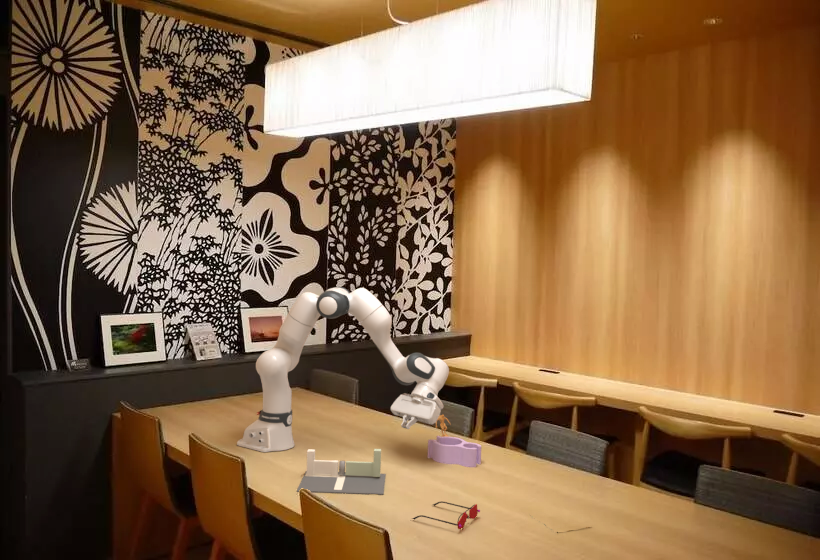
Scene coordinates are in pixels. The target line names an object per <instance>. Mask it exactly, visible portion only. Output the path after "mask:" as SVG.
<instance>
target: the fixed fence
mask: <svg viewBox="0 0 820 560" xmlns="http://www.w3.org/2000/svg"><path fill="white" fill-rule="evenodd" d="M339 461H340V460H337V459H336V460H335V459H334V460H333V459H332V460H327V459H326V460H325V459H324V460H323V459H321V460H320V459H316V449H311V448H310V449H309V448H308V449H307V451H306V471H307V476H314V474H328V475H332V477H338V472H339Z"/></svg>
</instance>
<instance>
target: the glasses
mask: <svg viewBox="0 0 820 560" xmlns="http://www.w3.org/2000/svg"><path fill="white" fill-rule="evenodd" d="M438 504H447V505H450V506H455V507H460V508H463V509H465V511H463V512H462V513H461V514H460V515H459V516H458V519H457V523H454V522H450V521H447V520H443V519H439V518H435V517H430V516H427V515H417V516H414V517H413V518H411V519H414V520H416V519H418V518H420V517H421V518H427V519H430V520H434V521H438V522H442V523H445V524H449V525H453V526H457V529H458V530H459V529H461V528H463V527H465V526H466V525H465V524H466V522H467V520H470V519H472V520H474V518H475V517H476V516H478V513H480V512H481V510H480V509H478V504H477V503H476V504H473V505H472V506H471V507H469V506H463V505H460V504H455V503H451V502H447V501H437V502H435V503H433V504H432V505H434V506H433V507H435V506H436V505H438ZM466 509H467V510H466ZM467 512H468V514H467ZM476 518H477V517H476ZM463 529H464V528H463Z"/></svg>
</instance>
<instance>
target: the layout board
mask: <svg viewBox="0 0 820 560" xmlns="http://www.w3.org/2000/svg"><path fill="white" fill-rule="evenodd" d="M345 474H346V471H345ZM386 475H387V473H380V477H373V476H355V475H339V471H338V477H332V475H328V474H314V476H307V470H306V471H305V472H304V474H303V476H302V479H301V480H300V483H299V485H298V487H297V489H296V493H300V492H299V490H300V489H301V488H304V489H308V490H310V491H311V492H310V493H317V494H342V493H343V494H345V493H346V494H347V495H369V494H378V495H377V496H383V495H384V493H385V483H386ZM343 494H342V495H343ZM346 494H345V495H346Z"/></svg>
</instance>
